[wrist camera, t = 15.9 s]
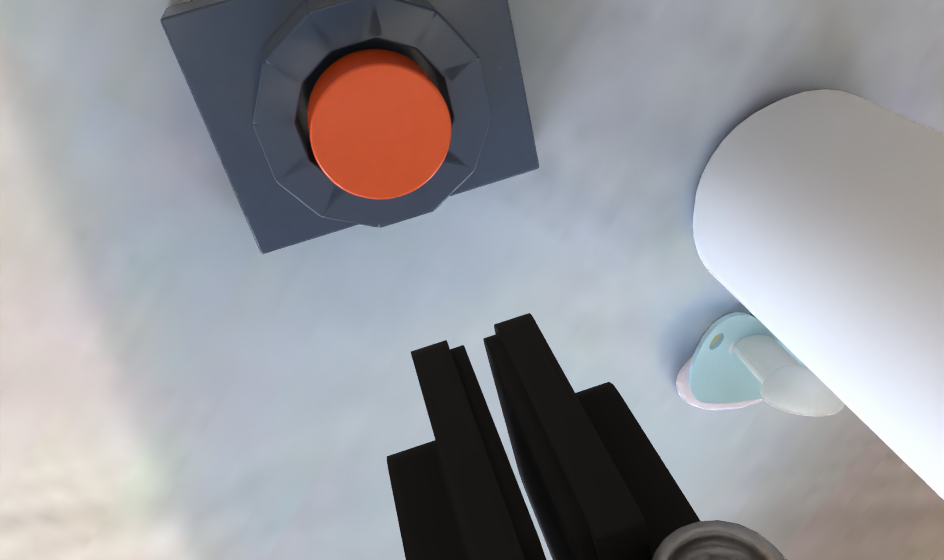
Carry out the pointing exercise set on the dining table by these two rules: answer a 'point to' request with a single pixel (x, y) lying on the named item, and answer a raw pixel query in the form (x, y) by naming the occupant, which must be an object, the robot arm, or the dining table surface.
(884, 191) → the alcohol
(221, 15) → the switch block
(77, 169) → the dining table surface
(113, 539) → the dining table surface
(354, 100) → the power button
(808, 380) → the pacifier
